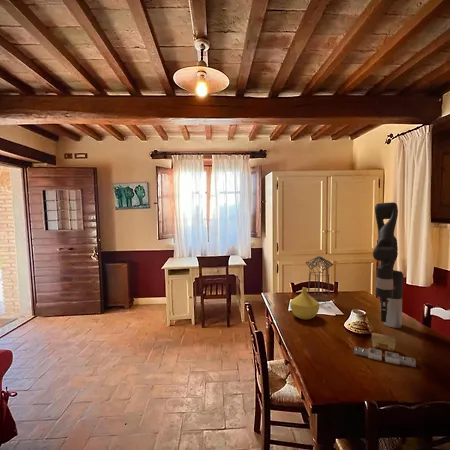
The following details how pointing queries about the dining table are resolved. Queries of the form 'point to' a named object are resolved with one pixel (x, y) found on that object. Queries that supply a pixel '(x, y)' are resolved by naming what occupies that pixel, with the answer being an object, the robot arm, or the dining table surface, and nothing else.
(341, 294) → the dining table surface
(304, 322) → the dining table surface
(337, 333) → the dining table surface
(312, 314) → the vase
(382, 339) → the master link
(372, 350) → the chain ends
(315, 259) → the geometric lantern
